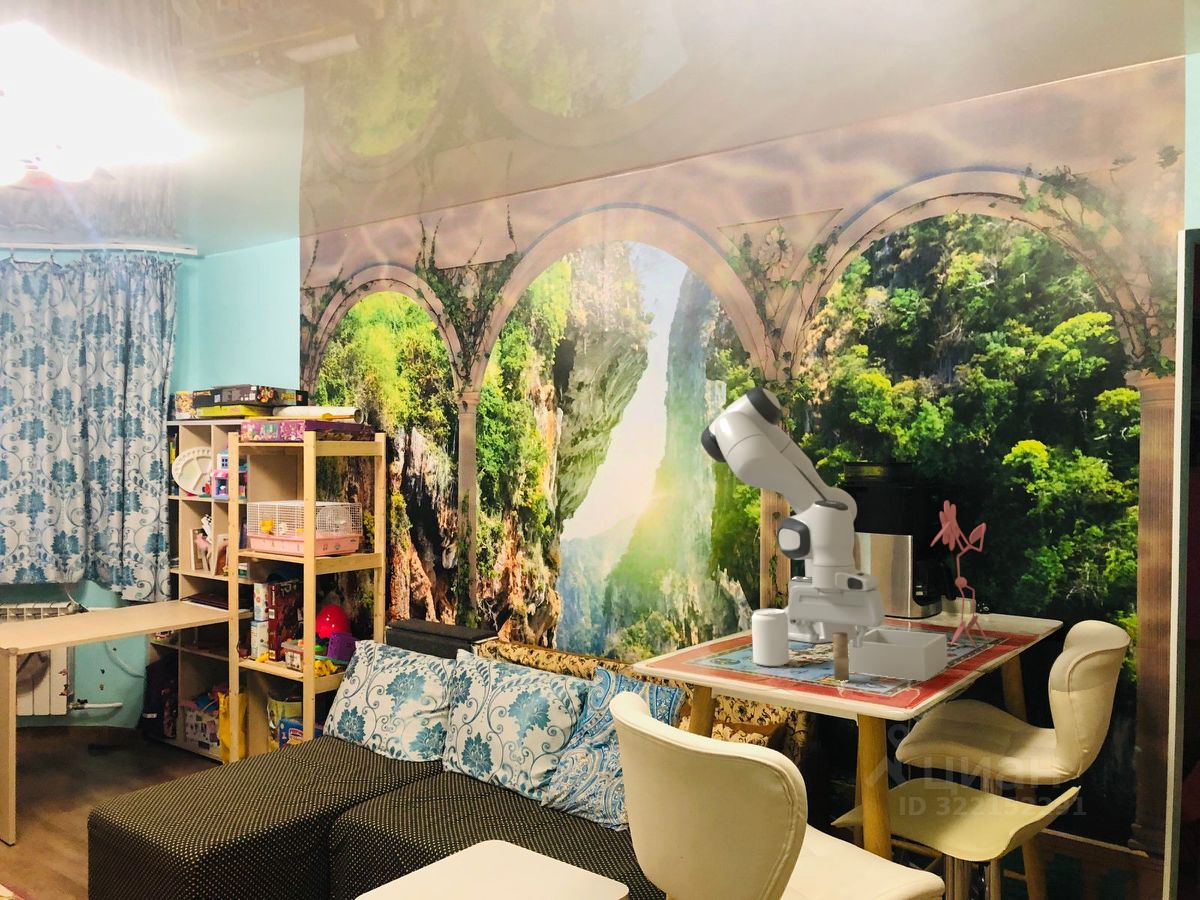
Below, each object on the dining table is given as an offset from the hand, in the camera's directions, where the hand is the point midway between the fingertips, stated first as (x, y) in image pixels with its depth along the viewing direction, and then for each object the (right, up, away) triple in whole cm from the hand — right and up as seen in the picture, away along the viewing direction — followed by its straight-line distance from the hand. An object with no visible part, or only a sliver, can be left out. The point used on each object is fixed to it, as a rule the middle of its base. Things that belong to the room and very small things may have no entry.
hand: (835, 644), depth 189 cm
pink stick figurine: (+38, -7, +35) cm, 52 cm away
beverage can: (-10, -9, +18) cm, 22 cm away
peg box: (+16, -7, +8) cm, 19 cm away
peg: (+1, -8, 0) cm, 8 cm away
